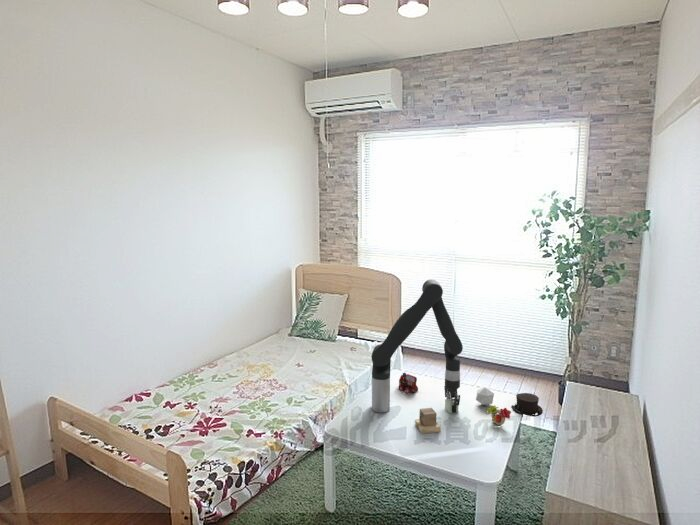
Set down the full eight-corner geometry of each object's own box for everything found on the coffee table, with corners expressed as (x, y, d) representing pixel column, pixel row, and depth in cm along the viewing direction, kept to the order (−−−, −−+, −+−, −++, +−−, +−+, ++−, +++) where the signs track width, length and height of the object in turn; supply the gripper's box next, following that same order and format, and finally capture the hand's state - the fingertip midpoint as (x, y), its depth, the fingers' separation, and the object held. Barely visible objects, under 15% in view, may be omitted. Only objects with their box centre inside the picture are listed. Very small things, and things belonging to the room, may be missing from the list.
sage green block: (444, 408, 234) (445, 399, 233) (453, 407, 235) (454, 398, 234) (449, 413, 229) (449, 403, 228) (458, 412, 230) (458, 402, 230)
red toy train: (404, 386, 262) (404, 369, 261) (420, 393, 253) (420, 375, 251) (395, 389, 258) (395, 372, 257) (411, 396, 248) (411, 378, 247)
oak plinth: (415, 424, 217) (415, 419, 217) (432, 422, 219) (433, 417, 219) (422, 433, 208) (422, 428, 208) (440, 431, 210) (440, 426, 210)
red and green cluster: (491, 418, 223) (492, 400, 222) (513, 426, 215) (514, 407, 214) (485, 422, 219) (485, 404, 218) (506, 430, 211) (507, 412, 210)
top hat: (527, 401, 242) (528, 383, 241) (549, 413, 229) (550, 393, 227) (505, 406, 237) (505, 387, 235) (526, 419, 223) (527, 398, 221)
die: (496, 407, 235) (497, 389, 234) (482, 410, 232) (483, 391, 230) (486, 401, 243) (486, 383, 241) (472, 403, 239) (473, 385, 238)
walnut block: (419, 420, 215) (419, 408, 215) (431, 419, 217) (431, 407, 216) (424, 426, 210) (424, 414, 209) (436, 425, 211) (436, 413, 210)
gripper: (465, 382, 224) (464, 415, 226) (453, 371, 238) (452, 402, 240) (451, 383, 222) (450, 416, 224) (439, 373, 236) (439, 404, 238)
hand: (451, 409), depth 232 cm, fingers closed on sage green block, 5 cm apart
